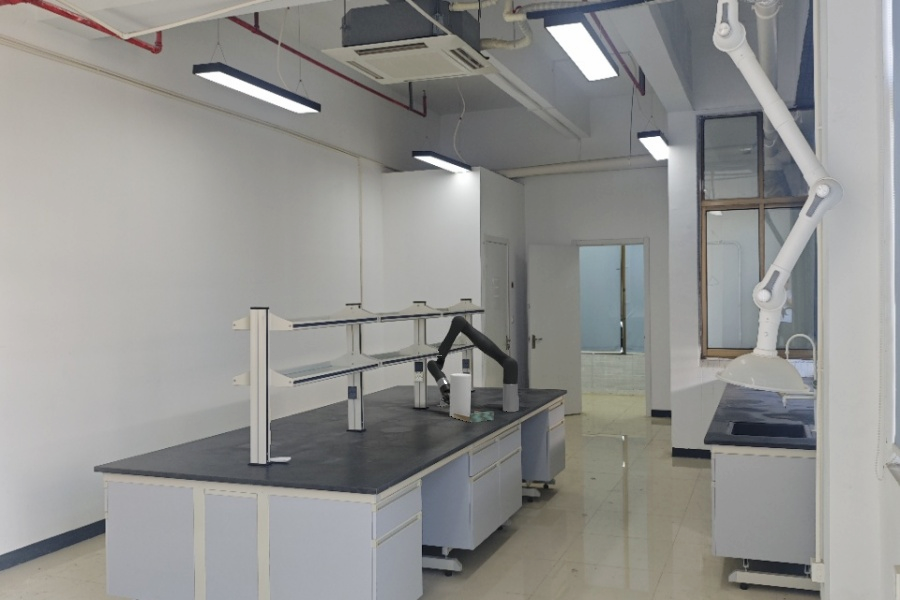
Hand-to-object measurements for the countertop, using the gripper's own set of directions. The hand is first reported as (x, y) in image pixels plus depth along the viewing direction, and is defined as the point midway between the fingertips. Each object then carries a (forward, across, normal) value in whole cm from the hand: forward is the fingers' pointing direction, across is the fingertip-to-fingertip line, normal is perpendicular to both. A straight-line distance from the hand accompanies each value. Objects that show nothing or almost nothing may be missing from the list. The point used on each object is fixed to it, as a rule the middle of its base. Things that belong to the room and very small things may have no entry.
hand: (455, 409), depth 473 cm
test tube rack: (-25, +20, +31) cm, 44 cm away
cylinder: (+6, 0, -1) cm, 6 cm away
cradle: (+15, 0, -10) cm, 18 cm away
